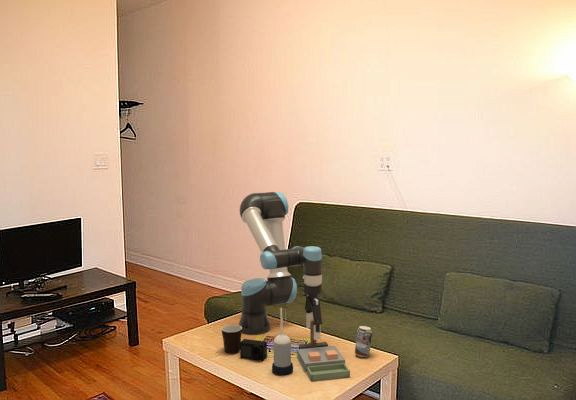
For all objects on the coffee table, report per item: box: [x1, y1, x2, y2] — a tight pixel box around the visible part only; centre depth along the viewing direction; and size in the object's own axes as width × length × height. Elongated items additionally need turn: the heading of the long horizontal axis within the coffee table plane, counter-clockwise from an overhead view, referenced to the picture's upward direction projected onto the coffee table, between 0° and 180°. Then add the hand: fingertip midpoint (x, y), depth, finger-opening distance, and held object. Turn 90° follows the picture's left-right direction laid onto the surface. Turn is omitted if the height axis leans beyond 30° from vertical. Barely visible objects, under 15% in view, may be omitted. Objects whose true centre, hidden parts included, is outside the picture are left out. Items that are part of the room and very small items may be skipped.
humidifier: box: [271, 307, 294, 377], centre depth 196 cm, size 8×8×25 cm
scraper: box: [298, 320, 329, 349], centre depth 215 cm, size 3×12×13 cm, turn 101°
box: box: [306, 362, 351, 382], centre depth 193 cm, size 7×15×2 cm, turn 101°
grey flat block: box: [296, 345, 346, 374], centre depth 204 cm, size 14×16×4 cm
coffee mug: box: [221, 324, 243, 355], centre depth 218 cm, size 12×9×10 cm
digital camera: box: [239, 338, 268, 362], centre depth 209 cm, size 10×5×7 cm, turn 70°
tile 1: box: [308, 352, 321, 361], centre depth 200 cm, size 4×4×2 cm
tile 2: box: [325, 350, 338, 360], centre depth 201 cm, size 4×4×2 cm
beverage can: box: [354, 325, 373, 358], centre depth 210 cm, size 6×7×12 cm
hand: (313, 333), depth 215 cm, fingers open, 12 cm apart
